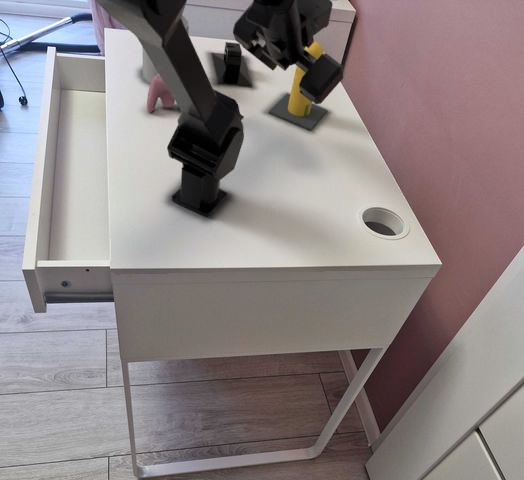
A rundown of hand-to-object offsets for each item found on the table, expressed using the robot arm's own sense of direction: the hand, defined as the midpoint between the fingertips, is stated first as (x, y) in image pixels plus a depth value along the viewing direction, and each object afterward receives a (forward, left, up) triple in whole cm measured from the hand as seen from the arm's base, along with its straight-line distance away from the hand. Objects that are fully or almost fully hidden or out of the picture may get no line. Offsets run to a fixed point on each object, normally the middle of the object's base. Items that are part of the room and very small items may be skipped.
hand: (293, 83), depth 86 cm
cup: (+1, +27, -9) cm, 28 cm away
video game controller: (-8, +18, -9) cm, 22 cm away
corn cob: (+8, +1, -8) cm, 12 cm away
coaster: (+8, +1, -9) cm, 12 cm away
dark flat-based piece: (+13, +18, -9) cm, 24 cm away
